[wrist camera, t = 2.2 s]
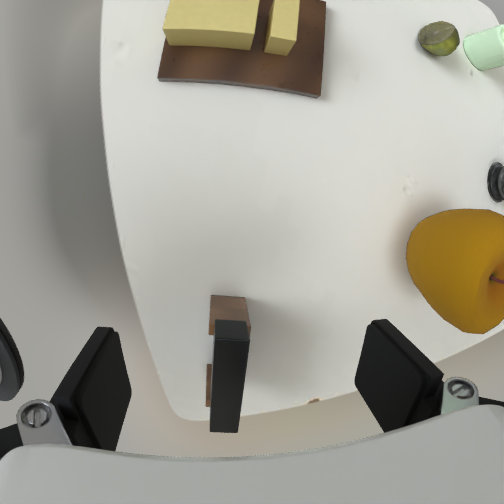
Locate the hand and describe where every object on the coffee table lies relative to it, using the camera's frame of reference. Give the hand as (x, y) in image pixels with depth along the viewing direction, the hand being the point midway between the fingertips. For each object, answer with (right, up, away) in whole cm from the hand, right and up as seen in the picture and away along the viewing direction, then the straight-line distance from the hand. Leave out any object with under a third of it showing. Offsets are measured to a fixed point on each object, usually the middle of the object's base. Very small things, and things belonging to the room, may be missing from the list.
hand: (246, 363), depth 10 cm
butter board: (0, +24, +11) cm, 26 cm away
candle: (+29, +30, +13) cm, 44 cm away
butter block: (-3, +23, +10) cm, 26 cm away
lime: (+20, +28, +12) cm, 36 cm away
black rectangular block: (-3, -4, +18) cm, 19 cm away
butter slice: (+2, +23, +10) cm, 25 cm away
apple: (+19, +4, +19) cm, 27 cm away
